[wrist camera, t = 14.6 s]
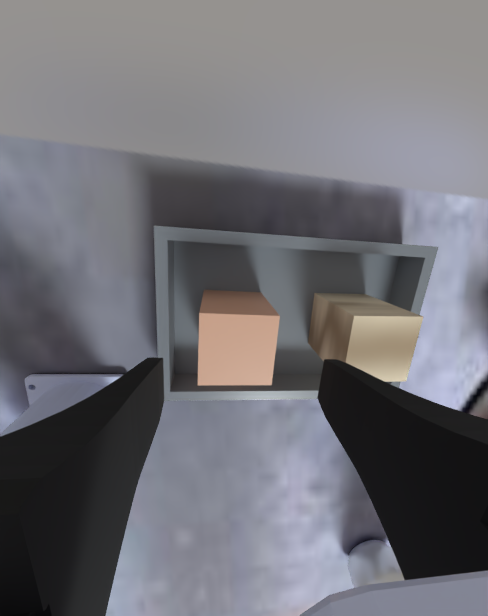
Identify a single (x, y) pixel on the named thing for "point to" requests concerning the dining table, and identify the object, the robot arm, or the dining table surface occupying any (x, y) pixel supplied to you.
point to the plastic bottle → (373, 564)
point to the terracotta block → (236, 338)
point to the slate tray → (270, 297)
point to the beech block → (364, 334)
